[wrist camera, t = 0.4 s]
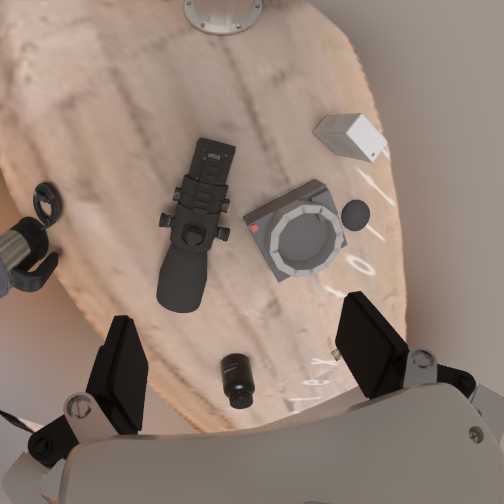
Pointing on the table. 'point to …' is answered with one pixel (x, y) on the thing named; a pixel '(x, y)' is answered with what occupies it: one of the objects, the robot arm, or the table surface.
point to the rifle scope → (195, 226)
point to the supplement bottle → (238, 381)
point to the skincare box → (351, 136)
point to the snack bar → (336, 354)
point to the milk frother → (28, 248)
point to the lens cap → (355, 215)
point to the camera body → (298, 231)
